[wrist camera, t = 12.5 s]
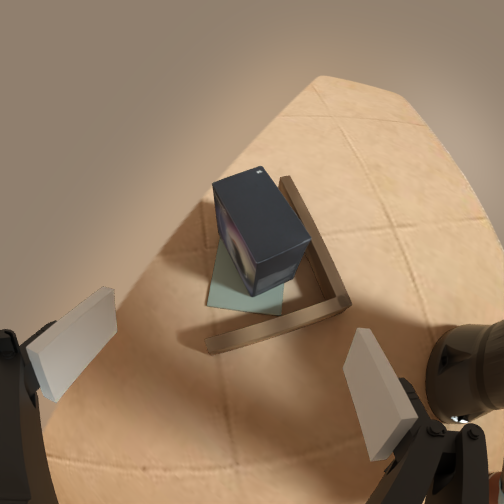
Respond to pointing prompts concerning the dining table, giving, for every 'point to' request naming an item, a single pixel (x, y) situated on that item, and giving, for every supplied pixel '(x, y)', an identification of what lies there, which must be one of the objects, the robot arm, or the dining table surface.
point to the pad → (239, 289)
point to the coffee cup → (494, 487)
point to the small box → (259, 229)
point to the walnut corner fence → (332, 306)
